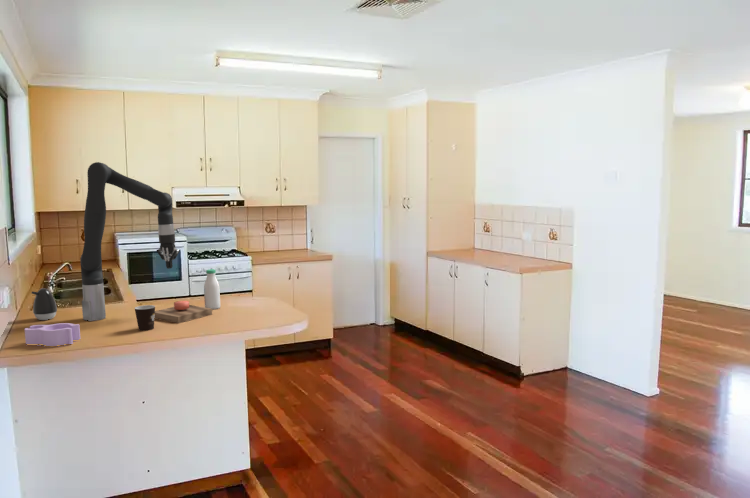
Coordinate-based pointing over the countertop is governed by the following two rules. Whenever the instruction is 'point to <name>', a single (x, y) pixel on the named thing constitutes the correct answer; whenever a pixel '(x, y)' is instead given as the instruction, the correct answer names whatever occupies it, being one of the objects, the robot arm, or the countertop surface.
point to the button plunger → (181, 305)
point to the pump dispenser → (44, 305)
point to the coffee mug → (145, 317)
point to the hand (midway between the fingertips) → (169, 268)
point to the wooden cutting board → (182, 314)
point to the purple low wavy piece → (52, 334)
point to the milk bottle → (211, 290)
